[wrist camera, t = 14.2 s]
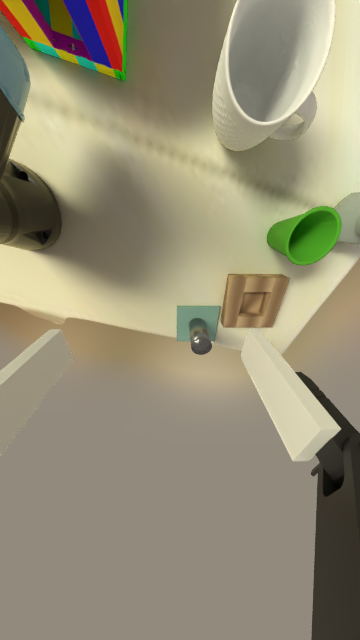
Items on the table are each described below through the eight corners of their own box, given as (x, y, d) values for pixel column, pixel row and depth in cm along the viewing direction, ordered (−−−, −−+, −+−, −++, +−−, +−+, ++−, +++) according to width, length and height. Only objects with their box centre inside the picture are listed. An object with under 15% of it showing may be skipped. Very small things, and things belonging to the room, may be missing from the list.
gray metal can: (188, 331, 49) (190, 354, 41) (189, 317, 47) (192, 338, 38) (204, 332, 49) (210, 354, 41) (206, 317, 47) (213, 338, 38)
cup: (250, 232, 37) (277, 235, 27) (289, 200, 34) (334, 190, 24) (267, 263, 40) (296, 275, 31) (304, 237, 37) (348, 241, 28)
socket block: (220, 321, 48) (223, 327, 45) (228, 274, 41) (232, 277, 38) (266, 320, 49) (272, 327, 46) (281, 274, 42) (290, 278, 39)
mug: (301, 104, 27) (391, 19, 16) (262, 183, 32) (309, 161, 21) (223, 48, 24) (266, -107, 13) (194, 145, 29) (206, 95, 18)
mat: (176, 340, 51) (176, 341, 51) (177, 305, 45) (177, 306, 45) (214, 339, 52) (214, 340, 51) (219, 305, 46) (219, 306, 45)
